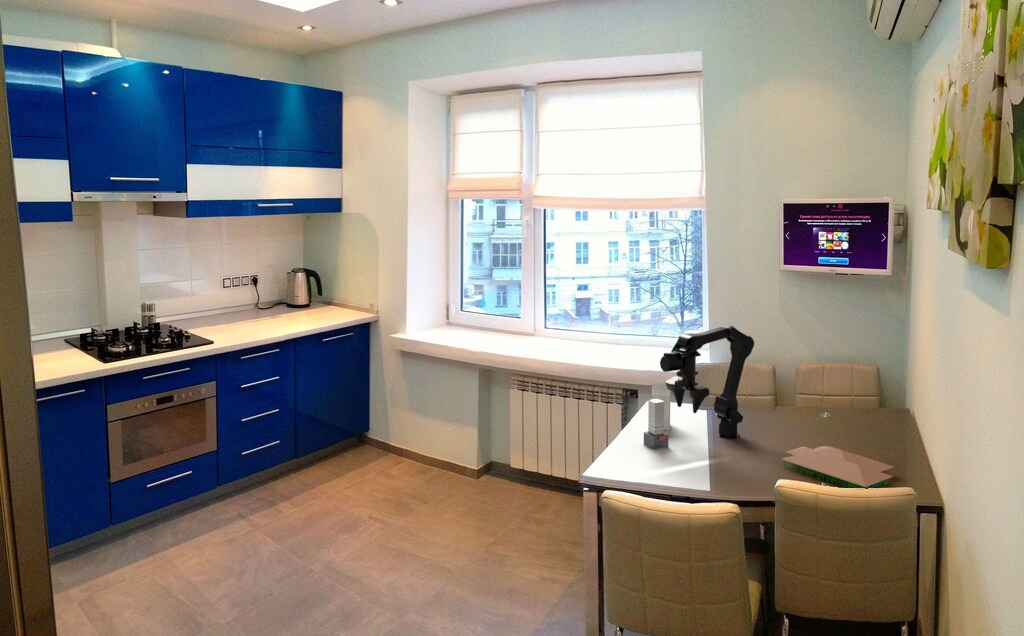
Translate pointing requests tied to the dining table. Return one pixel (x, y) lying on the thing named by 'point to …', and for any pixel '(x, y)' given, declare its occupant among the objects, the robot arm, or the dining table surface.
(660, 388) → the milk carton
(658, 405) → the post
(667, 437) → the stand
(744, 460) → the dining table surface
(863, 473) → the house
